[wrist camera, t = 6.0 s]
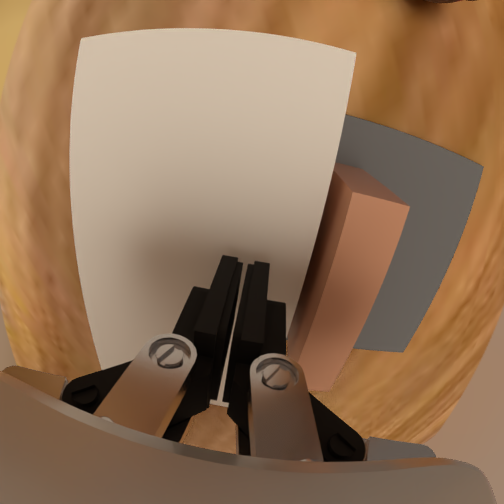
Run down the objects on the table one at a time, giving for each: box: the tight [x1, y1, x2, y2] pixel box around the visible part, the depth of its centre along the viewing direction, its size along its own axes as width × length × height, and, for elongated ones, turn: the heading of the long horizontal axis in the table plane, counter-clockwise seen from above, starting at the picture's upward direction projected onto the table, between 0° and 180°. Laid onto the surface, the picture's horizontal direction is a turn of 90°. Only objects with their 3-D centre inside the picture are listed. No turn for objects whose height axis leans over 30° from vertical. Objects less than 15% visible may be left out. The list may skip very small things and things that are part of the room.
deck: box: [70, 28, 356, 407], centre depth 14 cm, size 18×10×5 cm, turn 171°
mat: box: [286, 115, 484, 352], centre depth 16 cm, size 14×10×1 cm
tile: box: [288, 162, 410, 392], centre depth 13 cm, size 9×6×2 cm
